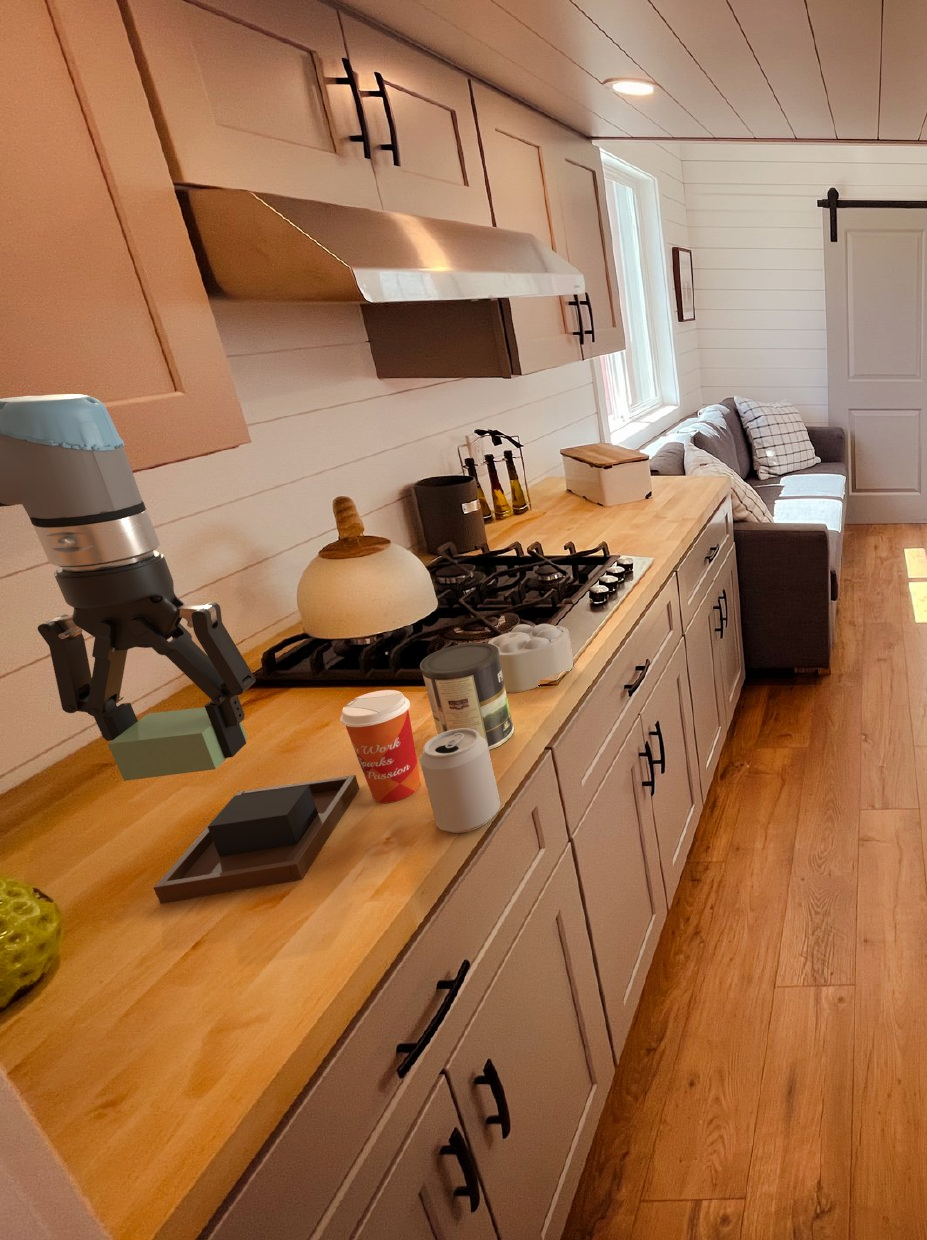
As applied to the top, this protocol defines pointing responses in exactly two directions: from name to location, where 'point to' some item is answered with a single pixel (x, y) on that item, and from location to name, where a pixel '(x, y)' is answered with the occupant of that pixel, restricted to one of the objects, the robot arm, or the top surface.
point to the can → (460, 780)
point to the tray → (222, 874)
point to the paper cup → (384, 743)
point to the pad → (168, 745)
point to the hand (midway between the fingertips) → (188, 756)
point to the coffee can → (468, 691)
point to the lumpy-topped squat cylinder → (532, 655)
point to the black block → (263, 820)
